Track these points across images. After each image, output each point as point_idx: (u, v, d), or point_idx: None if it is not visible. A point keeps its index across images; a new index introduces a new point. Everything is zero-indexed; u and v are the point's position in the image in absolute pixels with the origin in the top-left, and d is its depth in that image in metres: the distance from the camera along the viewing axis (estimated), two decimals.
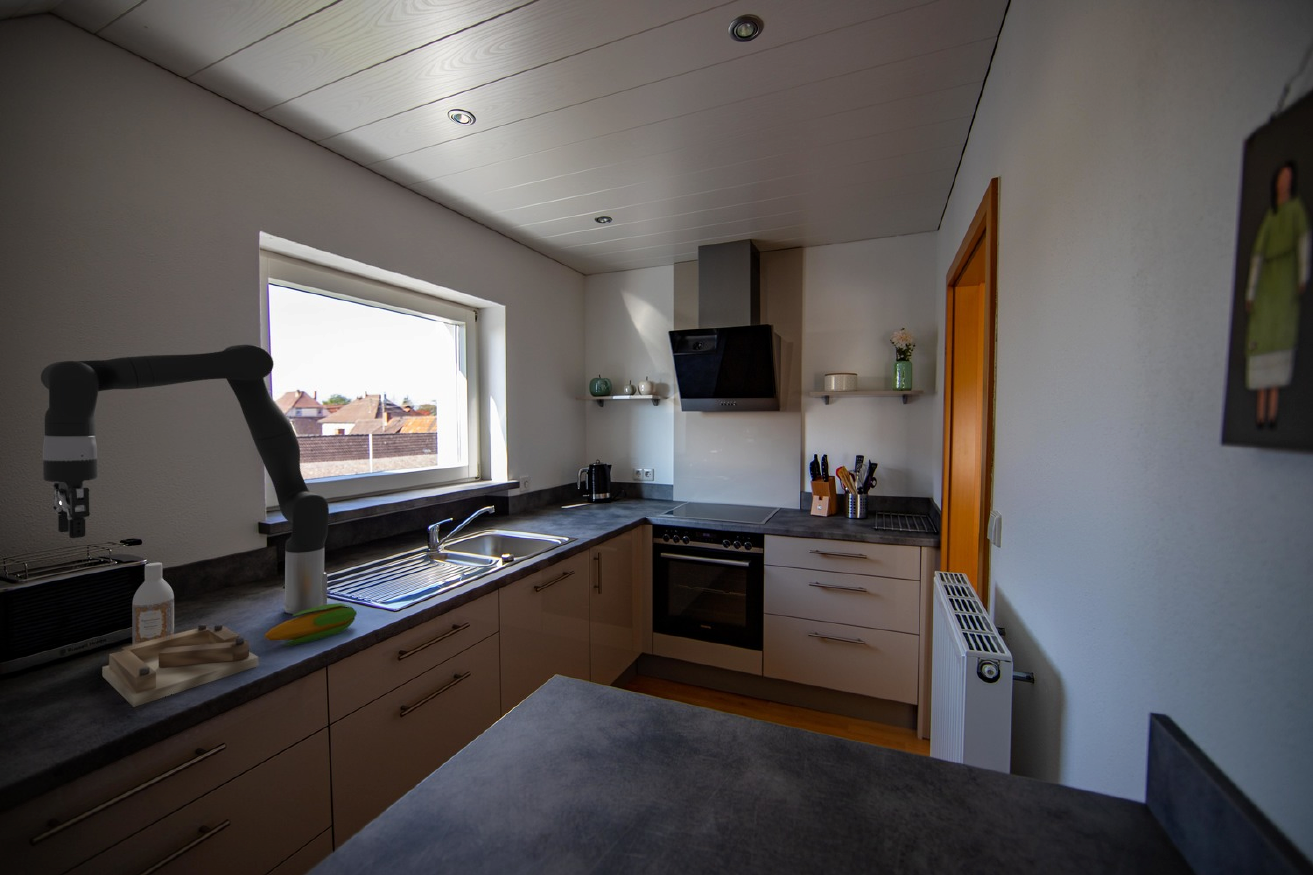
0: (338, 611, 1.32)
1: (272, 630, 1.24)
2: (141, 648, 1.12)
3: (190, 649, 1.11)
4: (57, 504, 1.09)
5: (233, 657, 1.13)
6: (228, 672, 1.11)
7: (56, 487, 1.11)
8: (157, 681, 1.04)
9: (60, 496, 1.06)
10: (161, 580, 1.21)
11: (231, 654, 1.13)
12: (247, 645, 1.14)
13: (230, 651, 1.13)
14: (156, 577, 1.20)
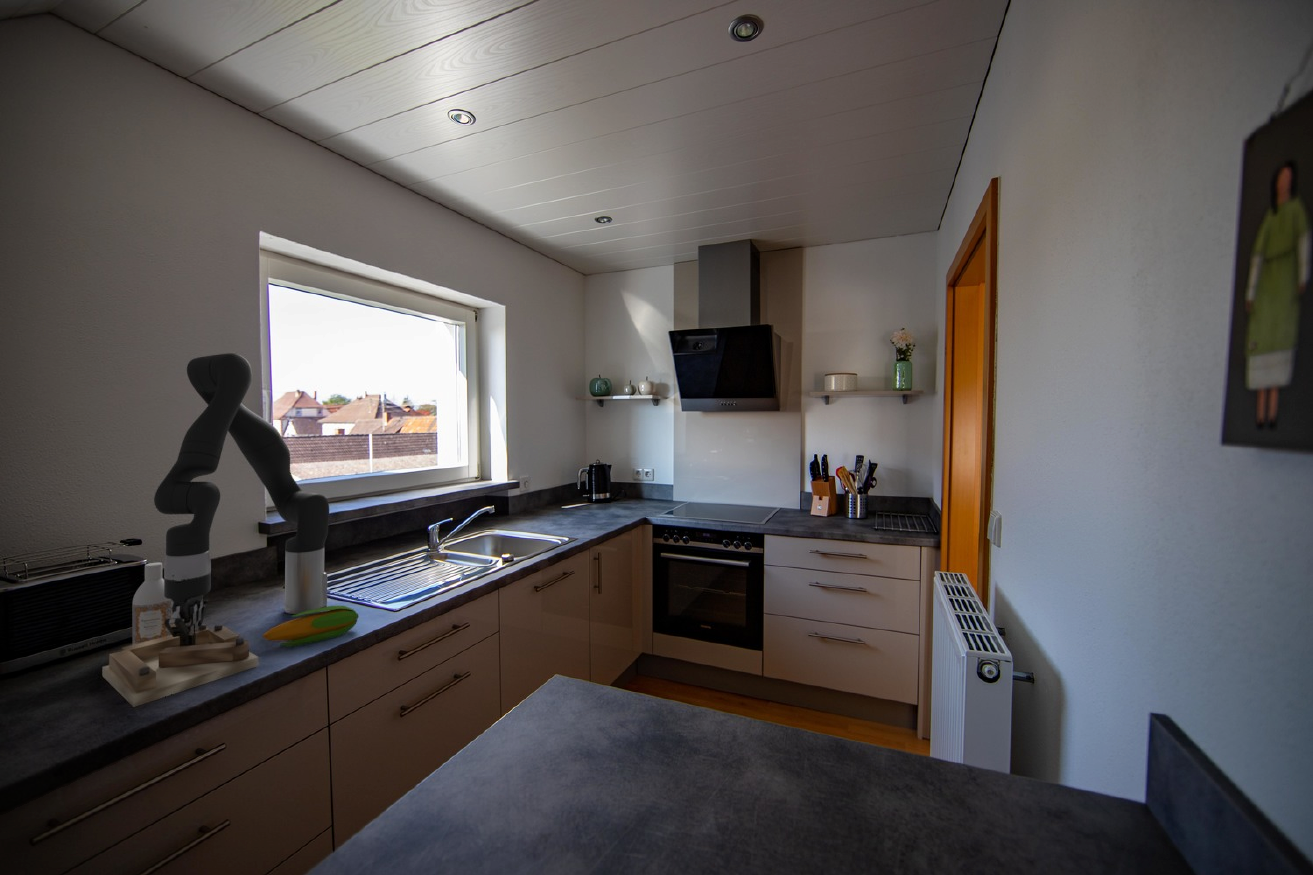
0: (337, 614, 1.30)
1: (270, 630, 1.23)
2: (141, 648, 1.12)
3: (190, 649, 1.11)
4: None
5: (233, 657, 1.13)
6: (228, 672, 1.11)
7: None
8: (157, 681, 1.04)
9: (201, 606, 1.16)
10: (161, 580, 1.21)
11: (231, 654, 1.13)
12: (247, 645, 1.14)
13: (230, 651, 1.13)
14: (156, 577, 1.20)
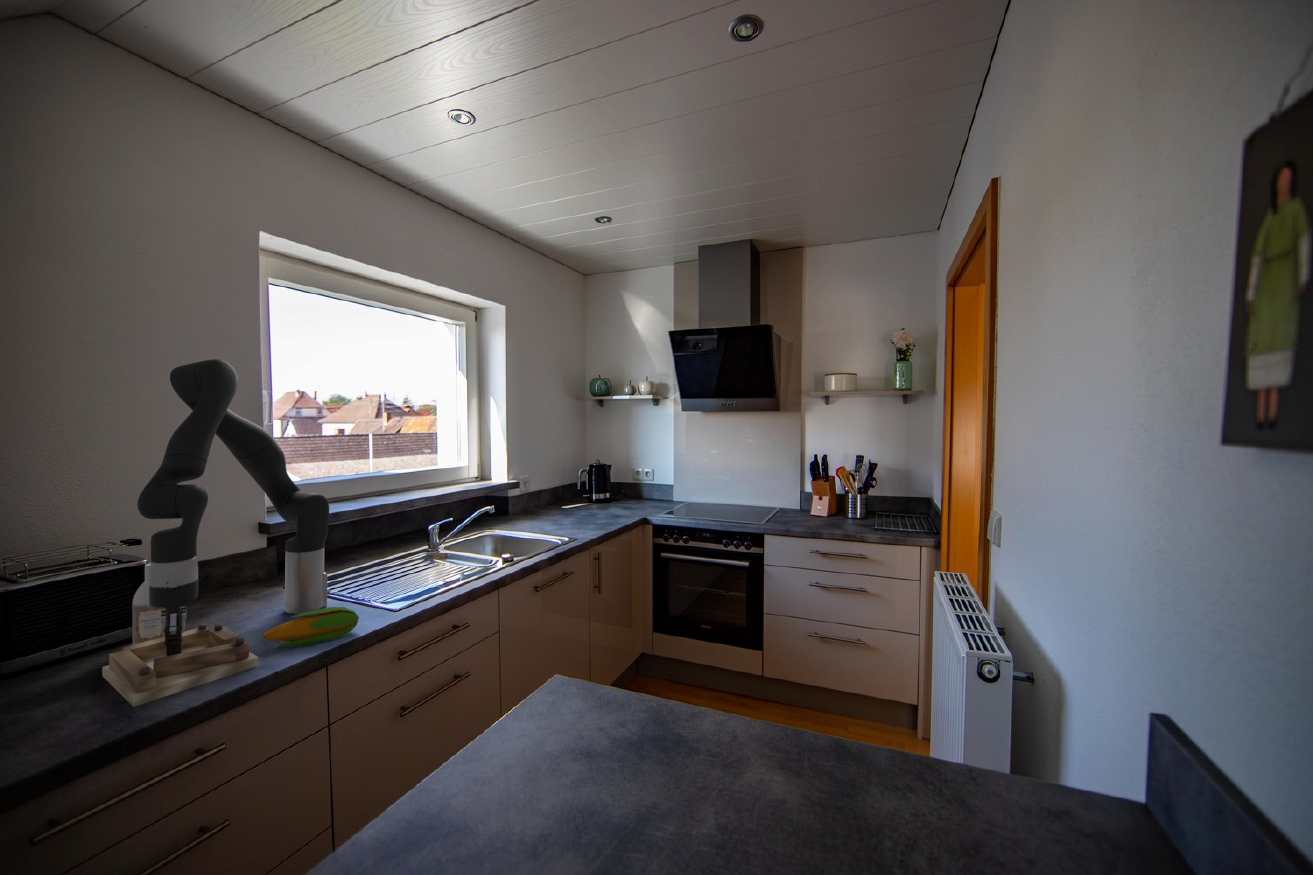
0: (336, 615, 1.29)
1: (269, 631, 1.23)
2: (141, 648, 1.12)
3: (187, 655, 1.08)
4: None
5: (235, 657, 1.13)
6: (228, 672, 1.11)
7: None
8: (157, 681, 1.04)
9: None
10: None
11: (234, 654, 1.13)
12: (248, 644, 1.15)
13: (233, 651, 1.13)
14: None
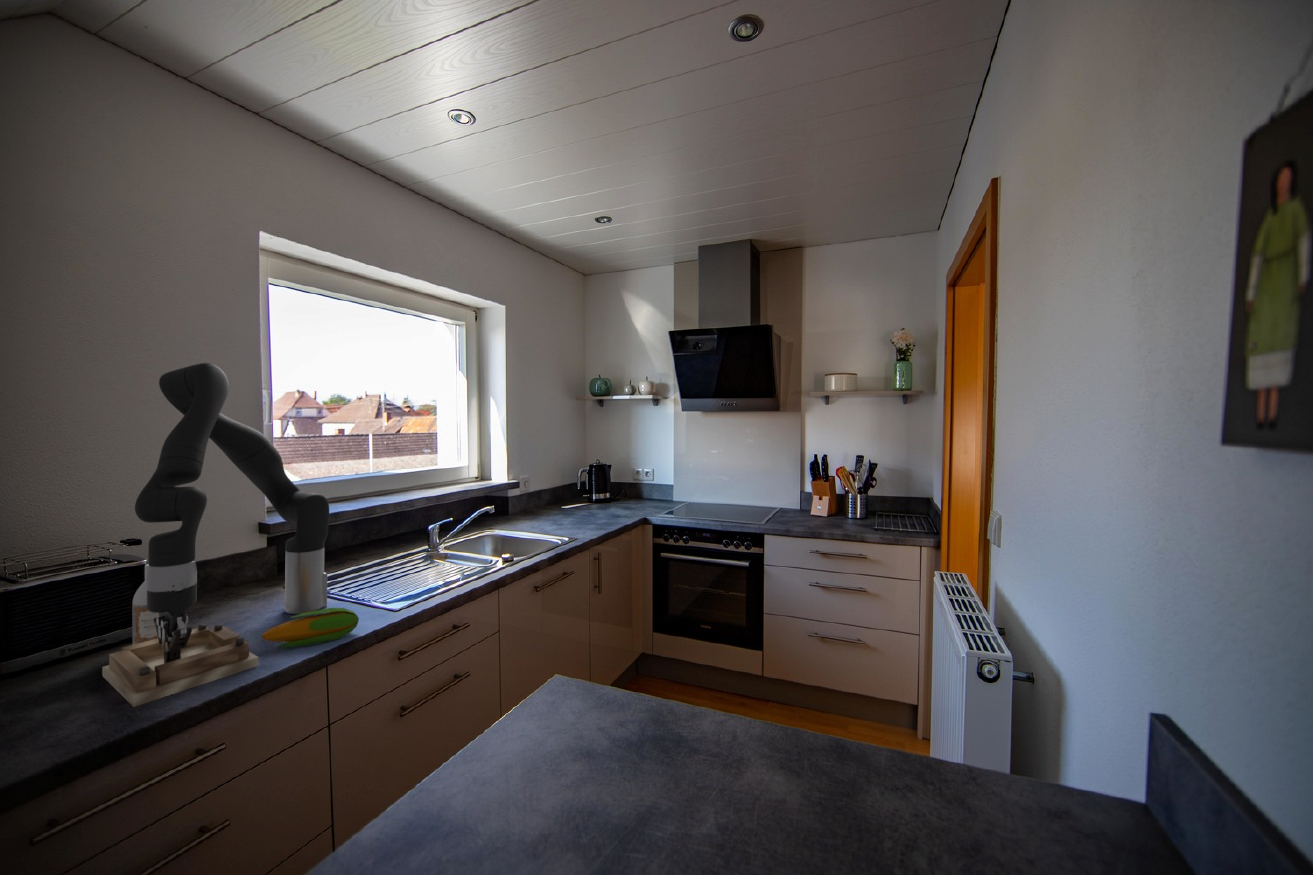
0: (336, 616, 1.29)
1: (269, 631, 1.23)
2: (141, 648, 1.12)
3: (191, 659, 1.07)
4: None
5: (238, 657, 1.13)
6: (228, 672, 1.11)
7: None
8: None
9: None
10: None
11: (237, 654, 1.13)
12: (248, 643, 1.15)
13: (236, 651, 1.13)
14: None
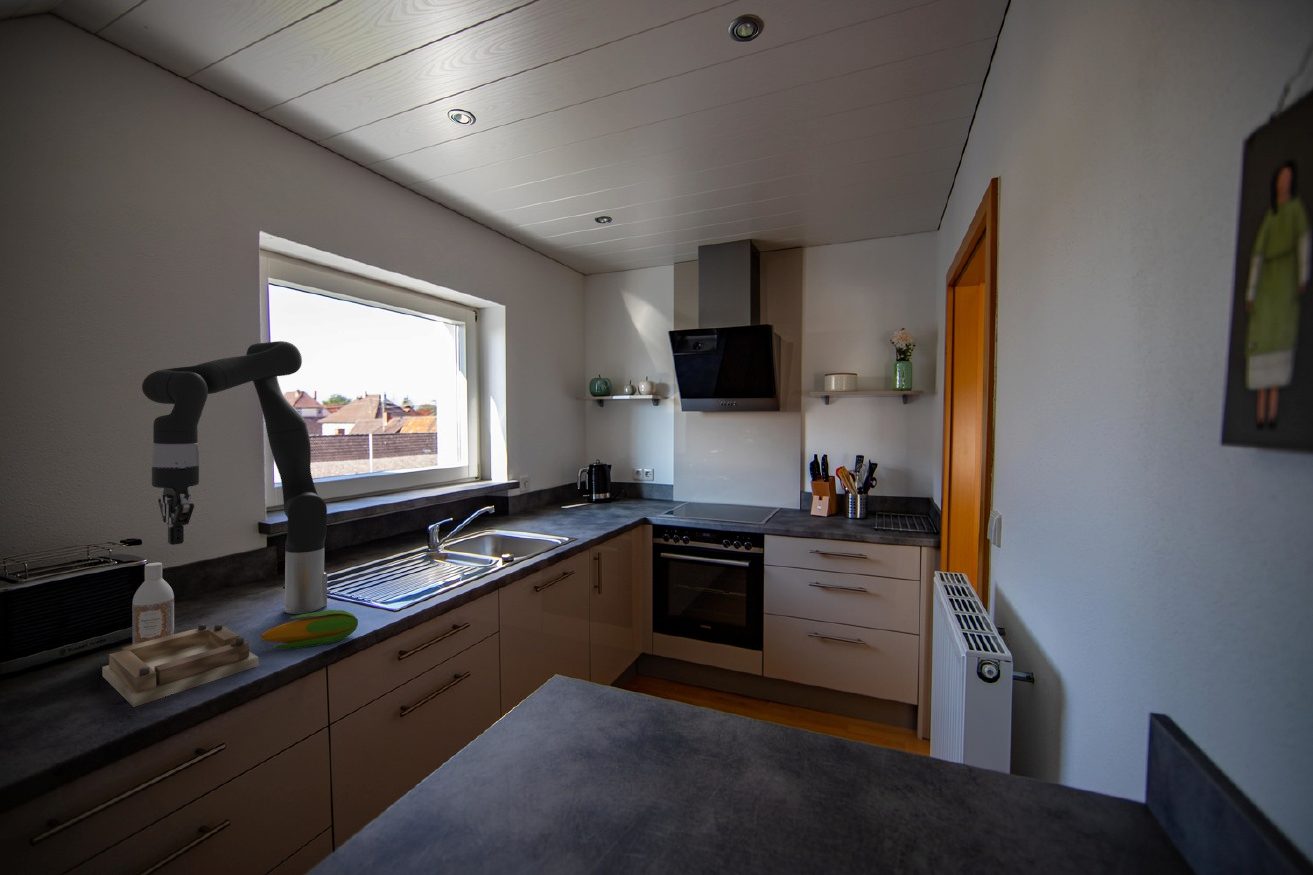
0: (333, 619, 1.27)
1: (267, 631, 1.23)
2: (141, 648, 1.12)
3: (191, 659, 1.07)
4: None
5: (238, 657, 1.13)
6: (228, 672, 1.11)
7: None
8: None
9: None
10: (161, 580, 1.21)
11: (237, 654, 1.13)
12: (248, 643, 1.15)
13: (236, 651, 1.13)
14: (156, 577, 1.20)
